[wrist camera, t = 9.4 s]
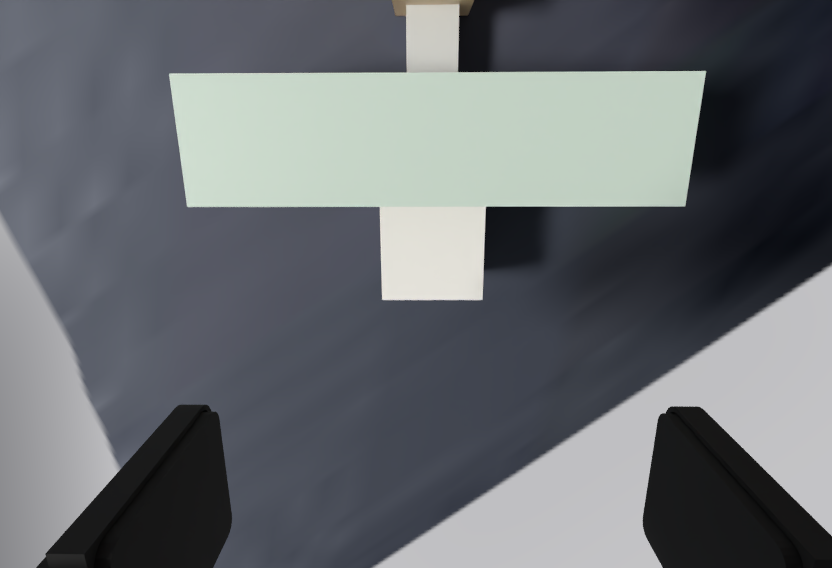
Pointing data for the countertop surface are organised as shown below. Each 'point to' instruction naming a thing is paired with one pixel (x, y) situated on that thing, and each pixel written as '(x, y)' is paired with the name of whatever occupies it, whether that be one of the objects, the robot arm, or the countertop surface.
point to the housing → (437, 138)
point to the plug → (432, 226)
